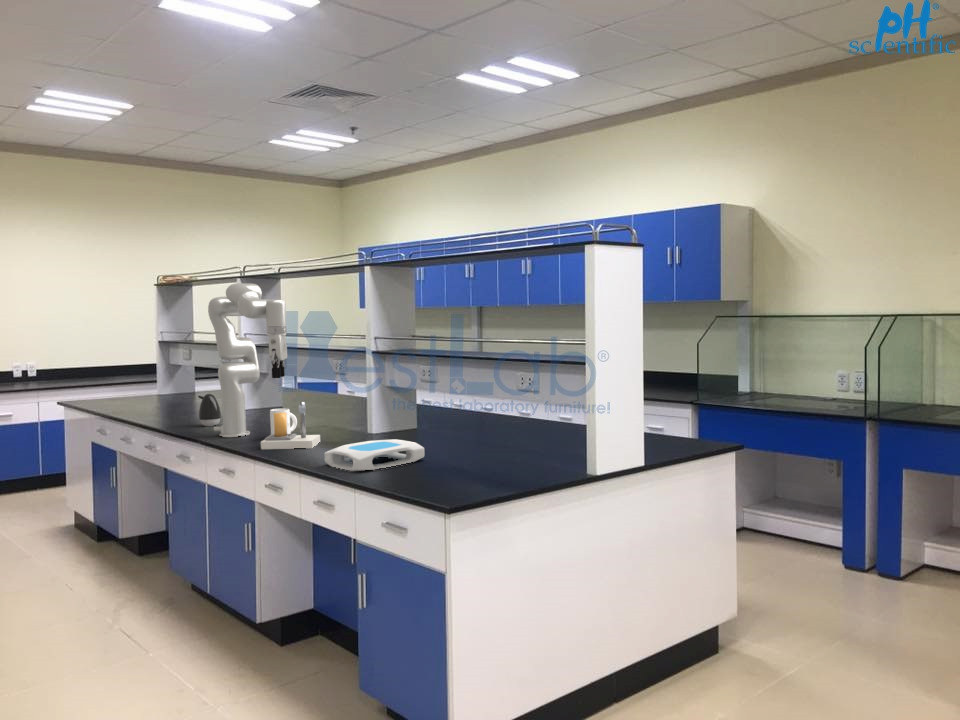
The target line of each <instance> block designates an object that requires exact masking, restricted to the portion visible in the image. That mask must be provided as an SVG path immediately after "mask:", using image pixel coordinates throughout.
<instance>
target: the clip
mask: <svg viewBox="0 0 960 720" xmlns="http://www.w3.org/2000/svg"><path fill="white" fill-rule="evenodd" d="M306 407H307V406H306V403H305V401H299V404H298V414H299V422H300V435H301V438H304V437H306V435H307V425H306V424H307V423H306V414H307V412H306V411H307V410H306V409H307V408H306Z"/></svg>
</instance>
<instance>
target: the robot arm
mask: <svg viewBox="0 0 960 720" xmlns="http://www.w3.org/2000/svg"><path fill="white" fill-rule="evenodd" d="M262 297H263V293H262V289H261V287H260V286H259V285H258V284H257V283H251V282H250V283H248V282H247V283H245V282H244V283H243V282H240V283H232V284H230V285H229V286H228V287H227V288H226V289H225V296H218V297H214V298H212V299H210V300H209V302H208V306H207V309H208V312H207V313H208V317H209V320H210V323H211V324H212V326H213V327H212V328H213V331H214V335H215V342H216V347H217V352H218V353H217V354H218V356H219V357H220V359H222V360H225V361H232V362H227V363H222V364H221V365H220V366H219V368H218V370H217V377H218V380H219V386H220V392H221V393H220V395H221V410H222V411H221V416H222V424H221V426H217V425H216V426H213V431H214V432H220V433H219V437H220V436H222V437H221V438H238V436H241V437H245V435H246V436H250V435H251V432H250V430H247V421H246V420H247V419H246V399H245V398H246V397H245V393H244V391H243V389H242V387H240V385H242V384H243V385H244V384H252V383H256V382H257V381H259V379H260V376H261V375H260V373H261V370H260V364H259V360H258V359H259V358H258V352H257V347H256V344H255V342H254V340H253V339H251V338H250V337H244V336H243V337H238V336H237V333H236V327H235V325H234V323H232V321H231V320H230V319H228V318H227V317H246V318H247V319H252V320H256V319H265V320H266V321H265V324H266V335H267V336H268V357H269V360H270V362H271V363H270V364H271V378H272V379H280V378H284V377H285V372H286V371H285V361H286V360H287V359H288V345H287V338H286V335H287V314H286V313H287V312H286V301H285V300H284V299H263V298H262ZM234 360H243V361H234Z"/></svg>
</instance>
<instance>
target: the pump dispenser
mask: <svg viewBox="0 0 960 720" xmlns="http://www.w3.org/2000/svg"><path fill="white" fill-rule="evenodd" d="M198 398H199V399H201V401H200V404H199V410H198V420H199V423H200V424H201V426H203V425H204V427H213V426H212V425H216V426H217V425H218V424H219V423H220V422H221V419H222V411H221V408H220V407H221V406H220V404H219V402H218V400H217V398H216V396H215V395H214V394H212V393H206V394H205V395H203V396H202V395H201V394H200V395H198Z"/></svg>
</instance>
